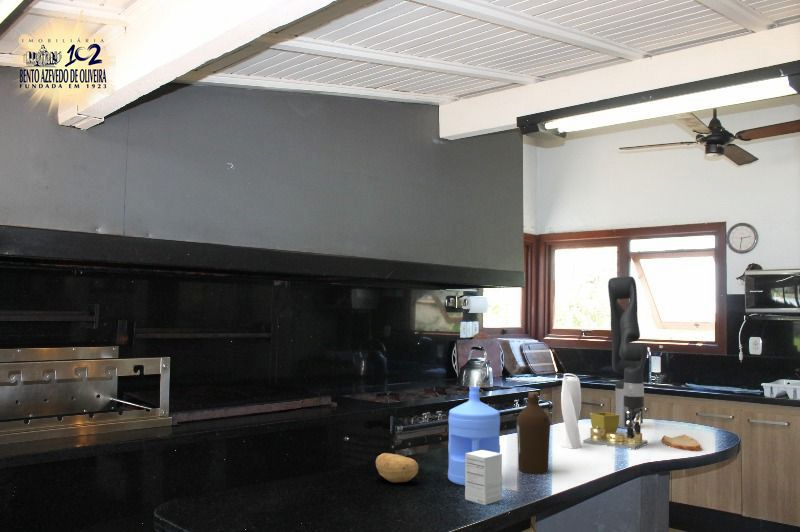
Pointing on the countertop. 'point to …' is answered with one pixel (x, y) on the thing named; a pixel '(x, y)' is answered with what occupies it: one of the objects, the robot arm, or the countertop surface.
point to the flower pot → (605, 421)
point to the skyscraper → (571, 411)
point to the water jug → (471, 433)
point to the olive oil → (533, 437)
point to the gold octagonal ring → (635, 438)
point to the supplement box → (483, 477)
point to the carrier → (610, 439)
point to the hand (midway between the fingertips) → (633, 436)
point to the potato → (396, 467)
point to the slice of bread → (682, 443)
